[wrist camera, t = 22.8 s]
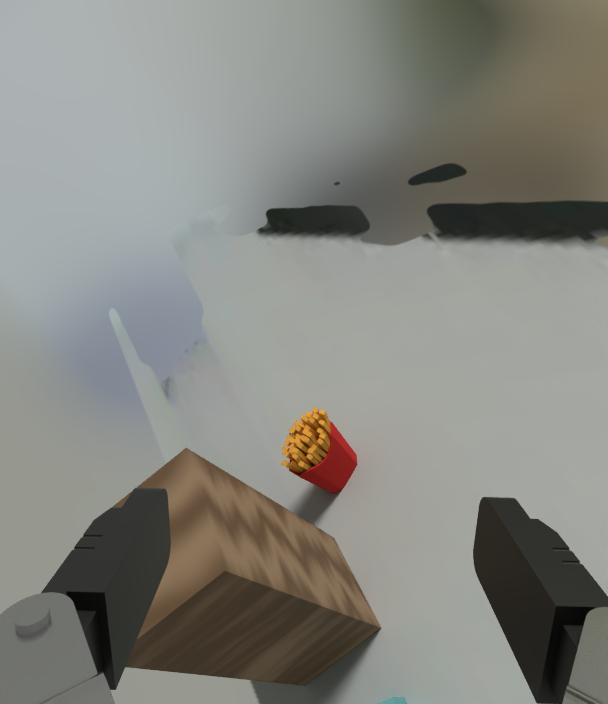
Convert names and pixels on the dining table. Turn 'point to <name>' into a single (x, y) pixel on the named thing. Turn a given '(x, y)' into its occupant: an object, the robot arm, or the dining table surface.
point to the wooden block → (246, 585)
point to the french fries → (319, 452)
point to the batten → (394, 701)
